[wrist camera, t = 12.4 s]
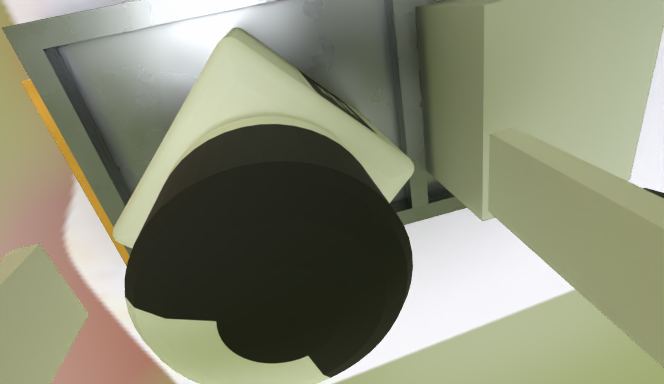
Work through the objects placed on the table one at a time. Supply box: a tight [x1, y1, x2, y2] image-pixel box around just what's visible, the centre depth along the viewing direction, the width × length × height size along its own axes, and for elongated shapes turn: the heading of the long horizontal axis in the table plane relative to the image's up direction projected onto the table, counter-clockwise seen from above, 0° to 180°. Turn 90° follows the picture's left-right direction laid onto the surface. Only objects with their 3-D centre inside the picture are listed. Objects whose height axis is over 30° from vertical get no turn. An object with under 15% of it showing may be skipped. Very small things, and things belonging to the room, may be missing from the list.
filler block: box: [416, 0, 664, 221], centre depth 18 cm, size 9×8×6 cm
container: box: [113, 27, 414, 384], centre depth 14 cm, size 8×8×13 cm
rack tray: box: [2, 0, 467, 266], centre depth 20 cm, size 14×27×3 cm, turn 101°
